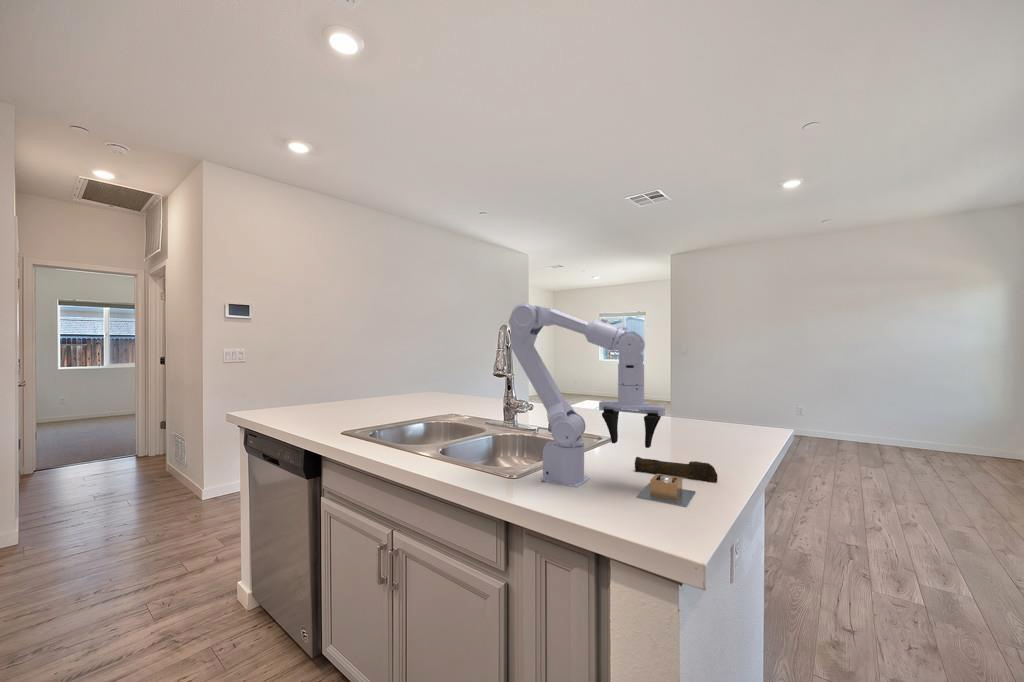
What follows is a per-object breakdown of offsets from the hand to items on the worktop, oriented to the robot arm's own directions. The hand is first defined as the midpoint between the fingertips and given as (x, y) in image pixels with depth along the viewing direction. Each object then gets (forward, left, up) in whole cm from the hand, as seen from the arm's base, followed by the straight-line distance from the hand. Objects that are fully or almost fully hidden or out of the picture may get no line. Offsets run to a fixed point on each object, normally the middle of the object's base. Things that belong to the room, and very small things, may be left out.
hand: (630, 444), depth 97 cm
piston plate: (+8, -1, -10) cm, 13 cm away
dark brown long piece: (+6, +15, -10) cm, 19 cm away
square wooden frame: (+8, -1, -9) cm, 12 cm away
